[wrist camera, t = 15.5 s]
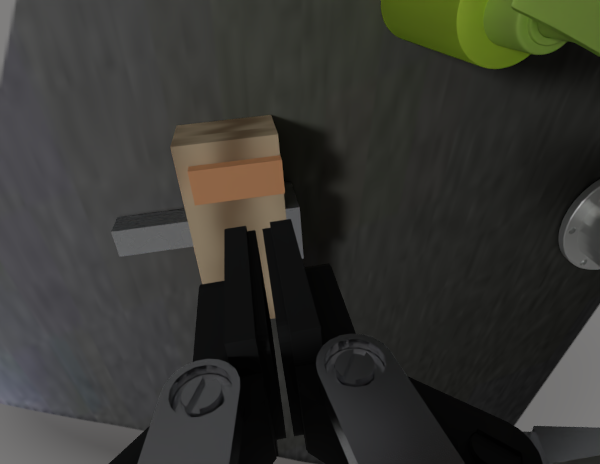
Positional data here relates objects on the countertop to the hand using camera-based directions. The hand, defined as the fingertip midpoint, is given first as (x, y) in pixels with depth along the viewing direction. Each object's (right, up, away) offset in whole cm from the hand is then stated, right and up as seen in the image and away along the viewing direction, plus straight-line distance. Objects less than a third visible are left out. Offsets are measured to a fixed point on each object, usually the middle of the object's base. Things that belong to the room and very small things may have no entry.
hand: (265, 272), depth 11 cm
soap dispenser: (+10, +20, +23) cm, 32 cm away
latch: (-4, +5, +23) cm, 24 cm away
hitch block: (-5, +3, +30) cm, 31 cm away
